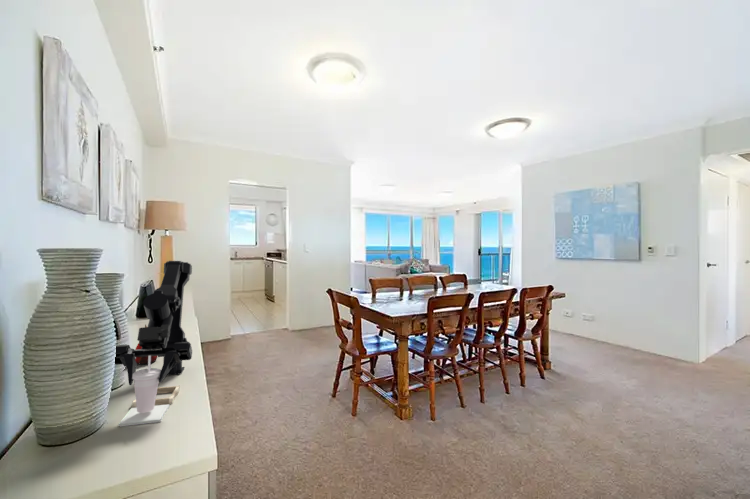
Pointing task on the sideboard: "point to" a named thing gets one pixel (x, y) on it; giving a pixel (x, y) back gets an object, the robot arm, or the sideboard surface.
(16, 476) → the sideboard surface
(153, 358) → the red clay folk toy
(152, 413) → the mat
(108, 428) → the sideboard surface
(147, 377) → the smoothie
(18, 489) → the sideboard surface
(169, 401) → the frame
